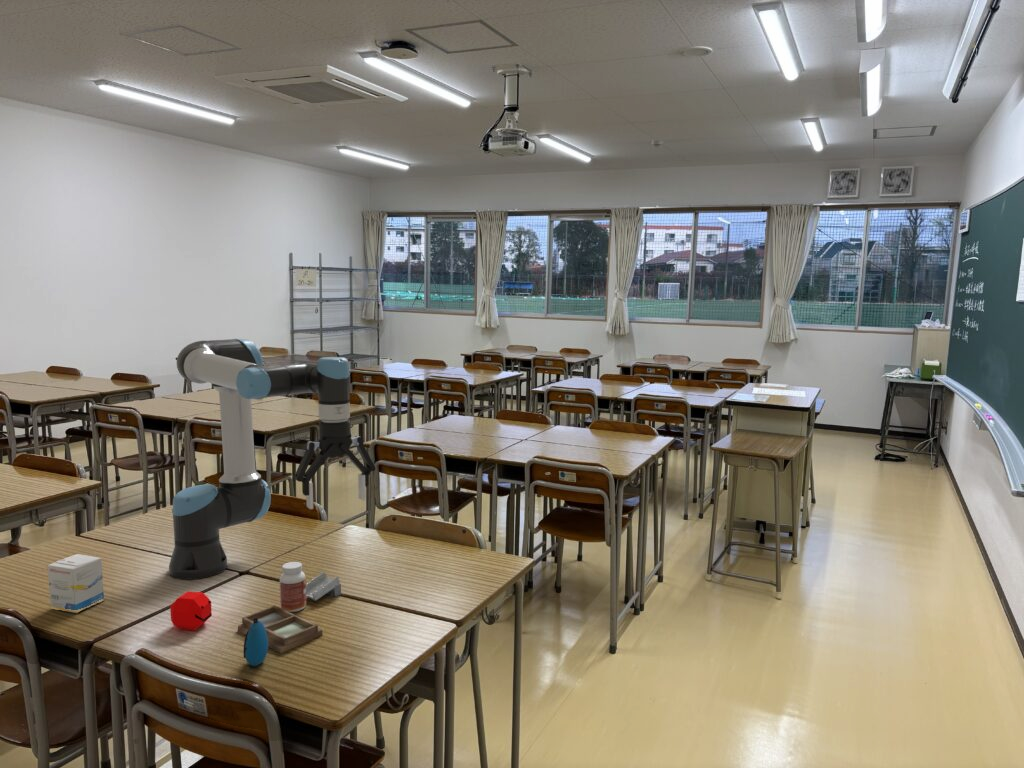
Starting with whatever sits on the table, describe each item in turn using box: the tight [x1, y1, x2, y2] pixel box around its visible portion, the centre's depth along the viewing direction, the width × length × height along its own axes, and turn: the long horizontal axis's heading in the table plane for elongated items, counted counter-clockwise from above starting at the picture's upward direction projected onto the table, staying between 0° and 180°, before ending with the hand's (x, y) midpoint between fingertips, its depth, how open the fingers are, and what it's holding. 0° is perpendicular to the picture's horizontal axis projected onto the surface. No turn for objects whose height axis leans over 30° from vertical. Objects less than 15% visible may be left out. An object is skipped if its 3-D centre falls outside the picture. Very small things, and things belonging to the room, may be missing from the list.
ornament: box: [243, 618, 269, 667], centre depth 151 cm, size 8×5×10 cm, turn 5°
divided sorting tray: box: [237, 605, 323, 654], centre depth 165 cm, size 17×11×3 cm, turn 52°
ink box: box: [47, 553, 105, 610], centre depth 179 cm, size 9×8×12 cm
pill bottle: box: [279, 561, 307, 613], centre depth 178 cm, size 6×6×11 cm
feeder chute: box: [306, 571, 342, 601], centre depth 185 cm, size 6×8×5 cm
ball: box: [169, 591, 213, 631], centre depth 168 cm, size 8×8×8 cm
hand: (336, 503), depth 179 cm, fingers open, 13 cm apart
